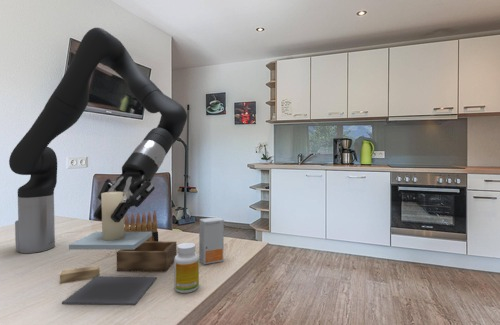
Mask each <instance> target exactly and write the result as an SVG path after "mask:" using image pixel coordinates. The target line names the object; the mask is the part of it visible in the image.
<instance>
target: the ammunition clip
mask: <svg viewBox="0 0 500 325" xmlns="http://www.w3.org/2000/svg"><path fill="white" fill-rule="evenodd" d="M140 215H141V214H140V213H139V212H137V214H136V219H135V215H134V213H132V214H131V216H130V217H129V215H128V214H125V216H124V232H152V236H151V237H150V238H149V239H147V240H146V241H159V230H158V220H157V218H158V217H157V212H156V210H154V211H153V212H152V214H151V211H148V212H147V215H146V214H145V211H143V213H142V215H141V216H140ZM146 216H147V218H146ZM129 218H130V219H129ZM129 220H130V221H129Z"/></svg>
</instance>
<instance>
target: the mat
mask: <svg viewBox="0 0 500 325" xmlns="http://www.w3.org/2000/svg"><path fill="white" fill-rule="evenodd" d="M157 279H158V276H120V275H119V276H117V275H116V276H107V275H105V276H104V275H101V276H100V275H99V276H96V277H95V278H93V279H90V280H89V281H88V282H87V283H86V284H84V285H83V286H82V287H80V288H79V289H77V290H76V291H74V293H72V294H71V295H69V296H68V297H67V298H65V299H64V300H63V301H61V305H90V306H91V305H94V306H95V305H96V306H97V305H98V306H99V305H100V306H104V305H105V306H106V305H107V306H110V305H111V306H113V305H114V306H136V305H137V304H138V303H139V301H140V300H141V299H142V298H143V296H144V295H145V294H146V292H147V291H148V290H149V289H150V288H151V286H152V285H153V284H154V283H155V282H156V280H157Z"/></svg>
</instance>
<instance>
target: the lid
mask: <svg viewBox="0 0 500 325" xmlns="http://www.w3.org/2000/svg"><path fill="white" fill-rule="evenodd" d="M123 196H124V194H123V192H117V191H115V192H105V193H101V200H100V201H101V202H100V203H102V220H101V229H102V230H101V231H95V232H93V233H90V234H89V235H86V236H84V237H82V238H80V239H78V240H76V241H73V242H71V243H69V244H68V250H69V251H71V250H74V251H75V250H77V251H78V250H84V251H85V250H91V251H92V250H98V251H99V250H100V251H101V250H107V251H108V250H115V251H116V250H117V251H119V250H134V249H136V248H137V247H138V246H139V245H141V244H142V243H143V242H145V241H146V240H147V239H149V238H150V237H151V236H152V232H124V227H125V216H124V217H123V218H122V219H121V220H120V222H114V221H113V220H112V219H111V215H112V213H113V212H114V211H115V209H116V208H117V206H118V205H119V203H122V202H121V201H122V198H123Z"/></svg>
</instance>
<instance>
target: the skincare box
mask: <svg viewBox="0 0 500 325" xmlns="http://www.w3.org/2000/svg"><path fill="white" fill-rule="evenodd" d="M198 221H199V227H198V228H199V235H198V236H199V237H198V238H199V242H198V244H199V245H198V246H199V250H198V253H199V254H198V257H199V261H200V263H202V265H209V264H214V263H220V262H224V243H225V242H224V234H225V232H224V228H225V227H224V225H225V224H224V223H225V222H224V221H225V220H224V219H223V218H221V217H219V216H218V217H216V216H215V217H206V218H200V219H199V220H198Z"/></svg>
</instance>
